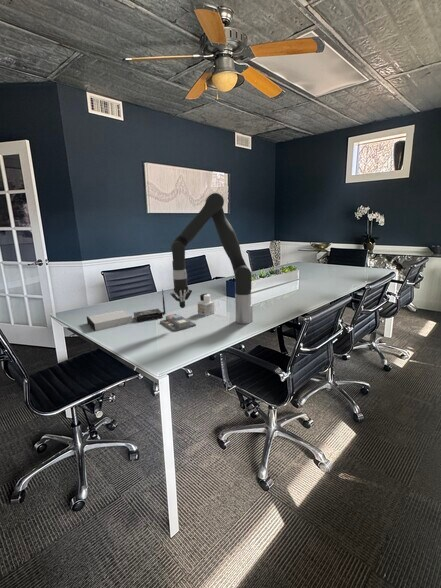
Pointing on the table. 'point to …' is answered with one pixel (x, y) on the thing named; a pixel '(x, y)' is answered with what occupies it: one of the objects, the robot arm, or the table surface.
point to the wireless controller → (149, 314)
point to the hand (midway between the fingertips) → (182, 307)
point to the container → (205, 305)
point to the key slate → (177, 317)
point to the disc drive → (109, 320)
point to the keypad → (175, 325)
